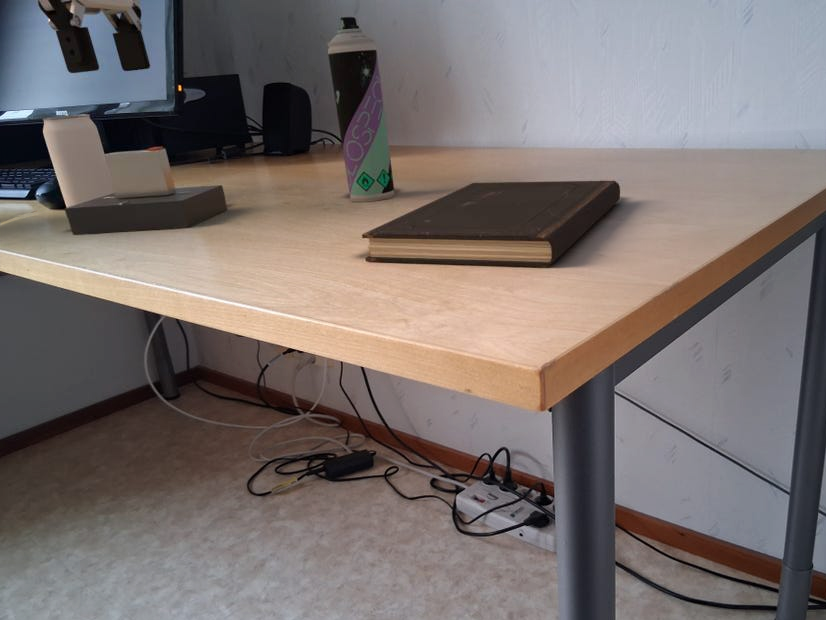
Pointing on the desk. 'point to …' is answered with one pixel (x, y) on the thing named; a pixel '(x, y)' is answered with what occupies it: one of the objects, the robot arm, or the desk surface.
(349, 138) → the spray can
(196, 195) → the dark grey base plate
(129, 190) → the white rectangular block
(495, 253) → the hardcover book
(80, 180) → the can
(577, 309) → the desk surface
